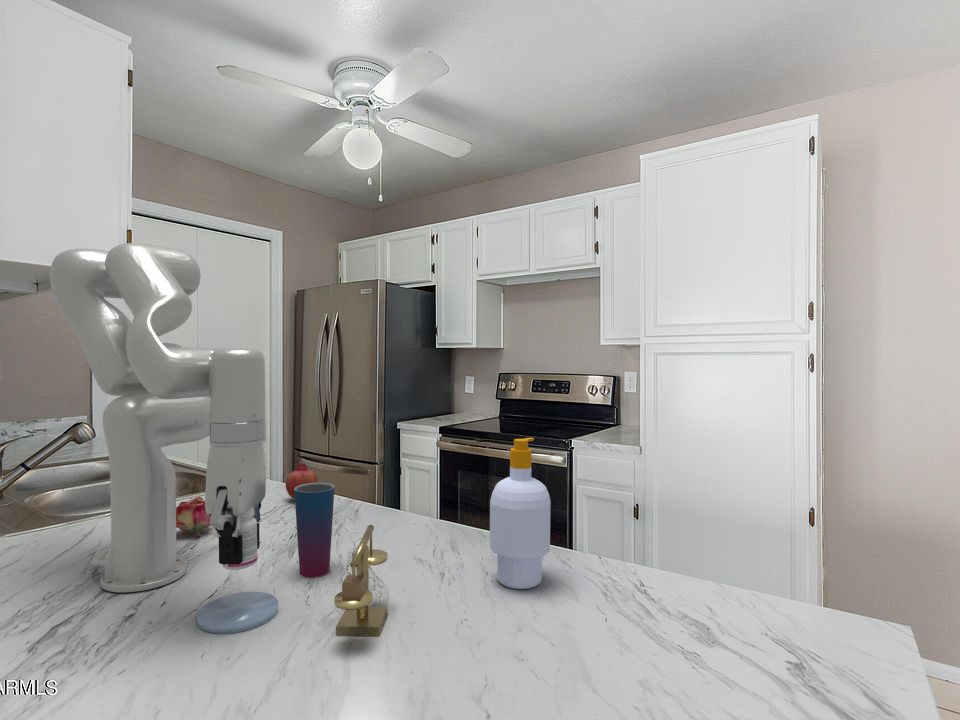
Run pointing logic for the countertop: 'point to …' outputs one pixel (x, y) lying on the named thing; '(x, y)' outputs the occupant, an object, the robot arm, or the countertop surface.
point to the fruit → (300, 478)
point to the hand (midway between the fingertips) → (240, 555)
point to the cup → (314, 527)
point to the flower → (192, 516)
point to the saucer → (237, 612)
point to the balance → (361, 593)
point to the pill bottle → (246, 539)
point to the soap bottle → (520, 522)
